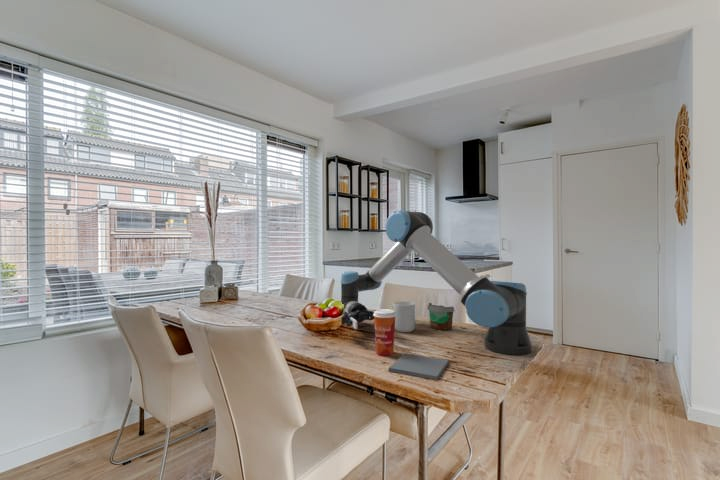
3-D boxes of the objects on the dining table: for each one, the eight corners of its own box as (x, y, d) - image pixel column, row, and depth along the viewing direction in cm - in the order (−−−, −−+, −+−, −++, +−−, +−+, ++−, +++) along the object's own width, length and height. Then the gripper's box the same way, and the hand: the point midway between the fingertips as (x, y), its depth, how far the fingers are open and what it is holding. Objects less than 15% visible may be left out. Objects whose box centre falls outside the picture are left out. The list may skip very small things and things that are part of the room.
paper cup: (368, 354, 116) (368, 311, 116) (380, 348, 123) (380, 307, 123) (389, 358, 112) (389, 314, 112) (400, 352, 118) (400, 310, 118)
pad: (448, 363, 108) (448, 360, 108) (436, 379, 96) (436, 376, 95) (404, 356, 114) (404, 353, 114) (388, 371, 102) (388, 367, 102)
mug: (410, 334, 140) (410, 306, 140) (389, 331, 145) (389, 304, 145) (420, 327, 151) (420, 301, 151) (401, 324, 155) (401, 299, 155)
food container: (421, 327, 150) (421, 304, 150) (430, 325, 154) (430, 302, 154) (445, 333, 141) (445, 308, 141) (454, 330, 145) (454, 306, 145)
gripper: (384, 318, 151) (406, 331, 131) (327, 323, 143) (340, 337, 123) (384, 300, 151) (406, 310, 130) (327, 304, 143) (340, 315, 123)
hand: (374, 323), depth 127 cm, fingers open, 13 cm apart
